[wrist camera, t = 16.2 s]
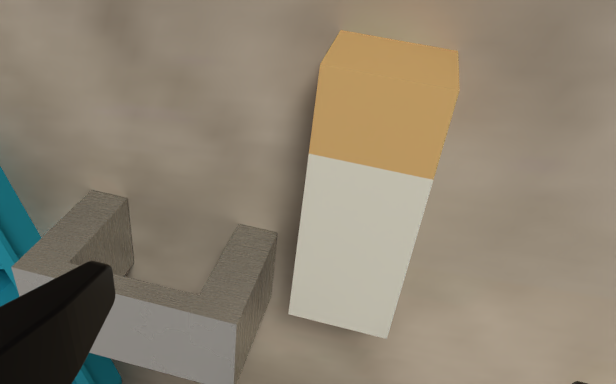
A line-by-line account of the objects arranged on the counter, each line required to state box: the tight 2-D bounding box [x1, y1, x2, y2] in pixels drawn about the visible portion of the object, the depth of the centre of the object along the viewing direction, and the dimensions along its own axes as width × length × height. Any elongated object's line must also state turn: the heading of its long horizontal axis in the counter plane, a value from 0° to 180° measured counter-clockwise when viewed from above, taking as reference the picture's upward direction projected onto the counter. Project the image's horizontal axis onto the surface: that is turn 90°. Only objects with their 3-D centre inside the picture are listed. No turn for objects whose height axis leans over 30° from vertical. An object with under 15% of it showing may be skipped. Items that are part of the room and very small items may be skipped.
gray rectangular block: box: [11, 190, 277, 384], centre depth 23 cm, size 4×9×6 cm, turn 84°
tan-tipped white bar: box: [288, 30, 459, 339], centre depth 19 cm, size 10×4×4 cm, turn 174°
